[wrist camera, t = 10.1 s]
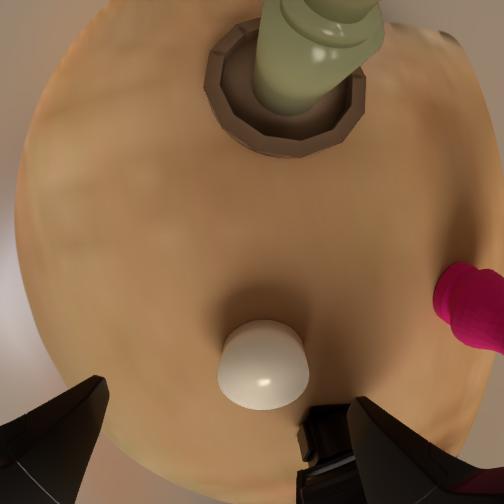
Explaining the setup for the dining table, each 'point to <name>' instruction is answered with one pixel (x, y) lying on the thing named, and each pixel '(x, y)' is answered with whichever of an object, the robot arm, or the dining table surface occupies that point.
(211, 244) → the dining table surface
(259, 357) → the white rounded puck
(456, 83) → the dining table surface
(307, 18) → the bottle
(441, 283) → the pepper mill
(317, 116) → the tray
